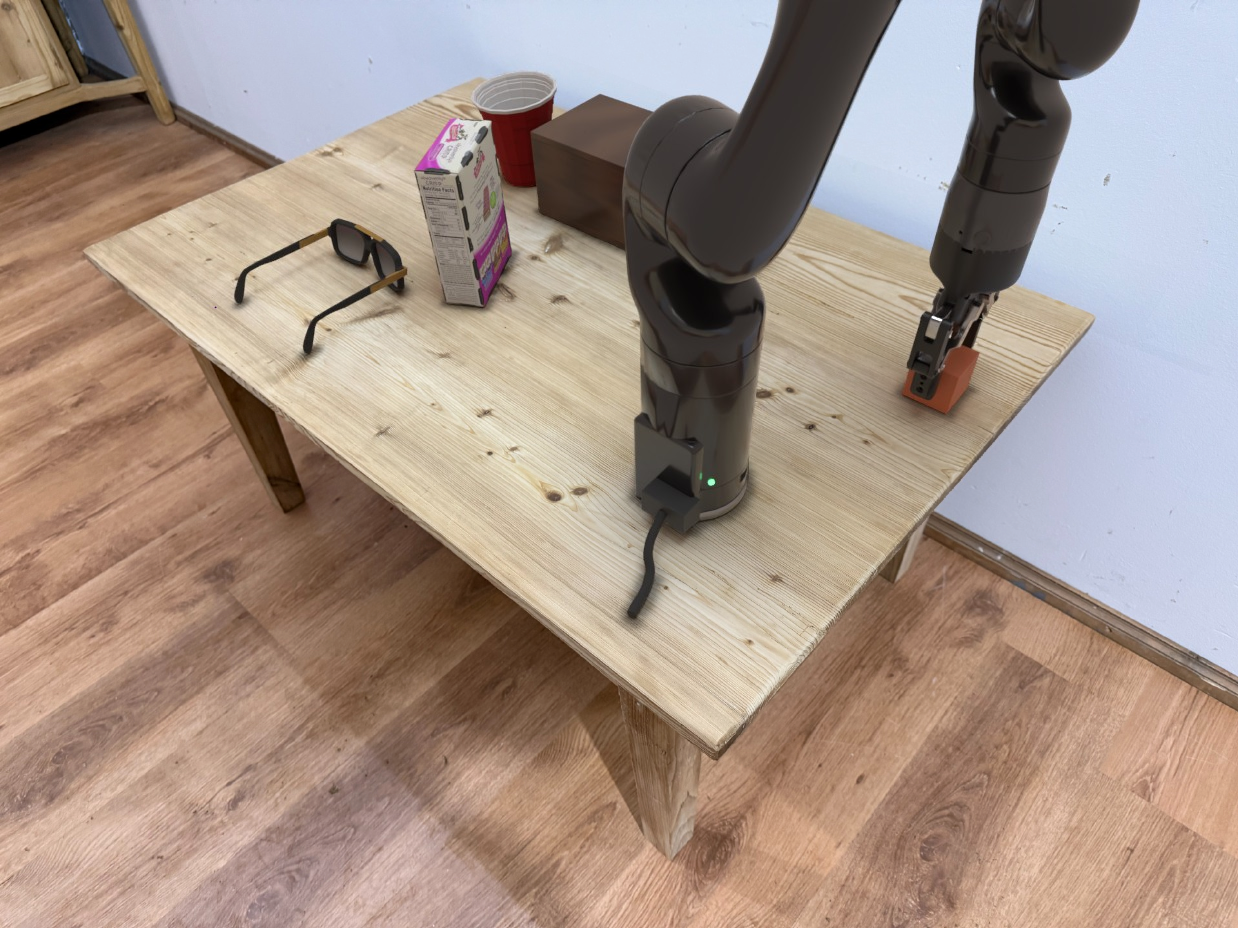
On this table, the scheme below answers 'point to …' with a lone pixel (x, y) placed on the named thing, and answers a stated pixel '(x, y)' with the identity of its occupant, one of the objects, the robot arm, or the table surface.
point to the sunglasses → (352, 247)
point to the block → (949, 380)
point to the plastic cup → (516, 118)
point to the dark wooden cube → (586, 165)
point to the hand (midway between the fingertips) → (941, 370)
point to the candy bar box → (465, 210)
